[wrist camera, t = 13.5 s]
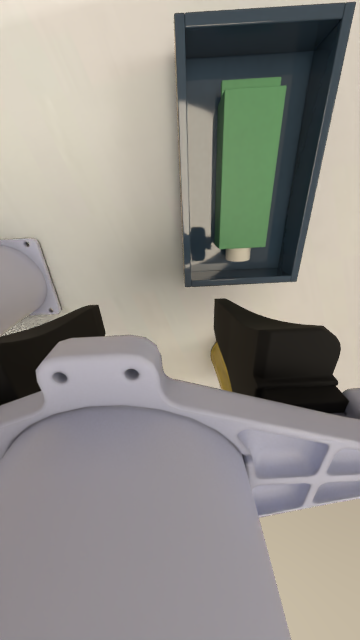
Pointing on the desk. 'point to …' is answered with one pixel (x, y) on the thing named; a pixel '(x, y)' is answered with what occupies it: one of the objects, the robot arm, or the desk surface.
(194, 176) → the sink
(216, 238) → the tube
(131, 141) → the desk surface
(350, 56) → the desk surface
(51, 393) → the robot arm
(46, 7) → the desk surface
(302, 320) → the desk surface
